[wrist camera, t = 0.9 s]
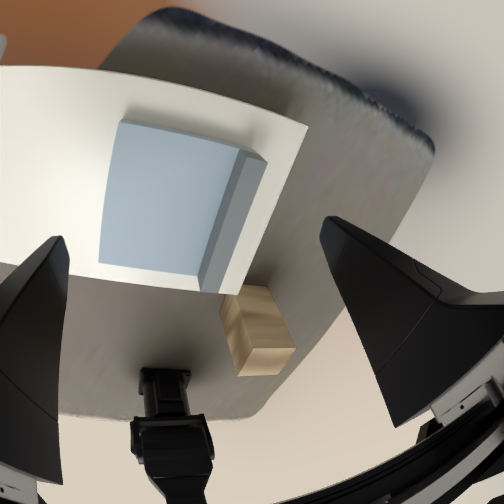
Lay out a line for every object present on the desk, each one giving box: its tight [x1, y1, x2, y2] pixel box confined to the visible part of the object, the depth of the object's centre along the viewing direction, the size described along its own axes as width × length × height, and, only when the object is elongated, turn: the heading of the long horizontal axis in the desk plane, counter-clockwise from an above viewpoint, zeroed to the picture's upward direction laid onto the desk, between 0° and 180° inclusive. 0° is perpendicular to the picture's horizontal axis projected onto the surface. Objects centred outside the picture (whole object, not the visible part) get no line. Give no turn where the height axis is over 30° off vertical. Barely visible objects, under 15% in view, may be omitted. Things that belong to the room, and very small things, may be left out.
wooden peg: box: [220, 284, 296, 376], centre depth 27 cm, size 4×4×8 cm
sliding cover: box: [98, 119, 268, 294], centre depth 17 cm, size 9×8×3 cm
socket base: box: [0, 65, 308, 295], centre depth 18 cm, size 14×22×4 cm, turn 69°
